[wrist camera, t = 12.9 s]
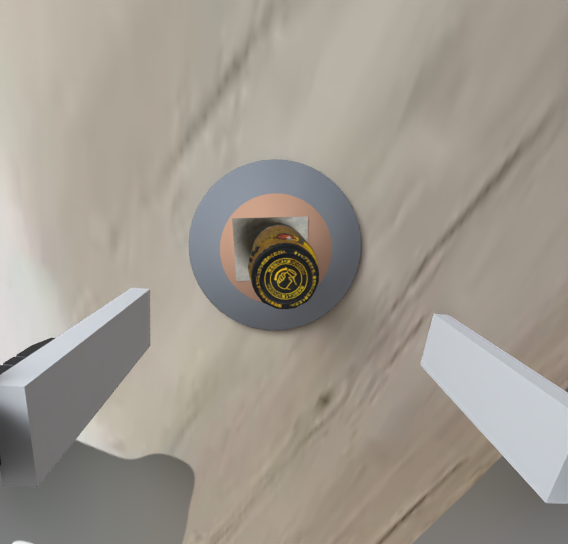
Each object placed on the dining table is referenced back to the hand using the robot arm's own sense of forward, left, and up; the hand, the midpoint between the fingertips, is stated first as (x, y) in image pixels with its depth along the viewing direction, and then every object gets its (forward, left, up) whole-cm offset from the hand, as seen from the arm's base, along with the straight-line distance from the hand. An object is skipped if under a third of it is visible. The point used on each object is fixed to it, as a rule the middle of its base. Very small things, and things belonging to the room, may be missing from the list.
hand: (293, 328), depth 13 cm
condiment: (0, -1, -21) cm, 21 cm away
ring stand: (0, 0, -22) cm, 22 cm away
